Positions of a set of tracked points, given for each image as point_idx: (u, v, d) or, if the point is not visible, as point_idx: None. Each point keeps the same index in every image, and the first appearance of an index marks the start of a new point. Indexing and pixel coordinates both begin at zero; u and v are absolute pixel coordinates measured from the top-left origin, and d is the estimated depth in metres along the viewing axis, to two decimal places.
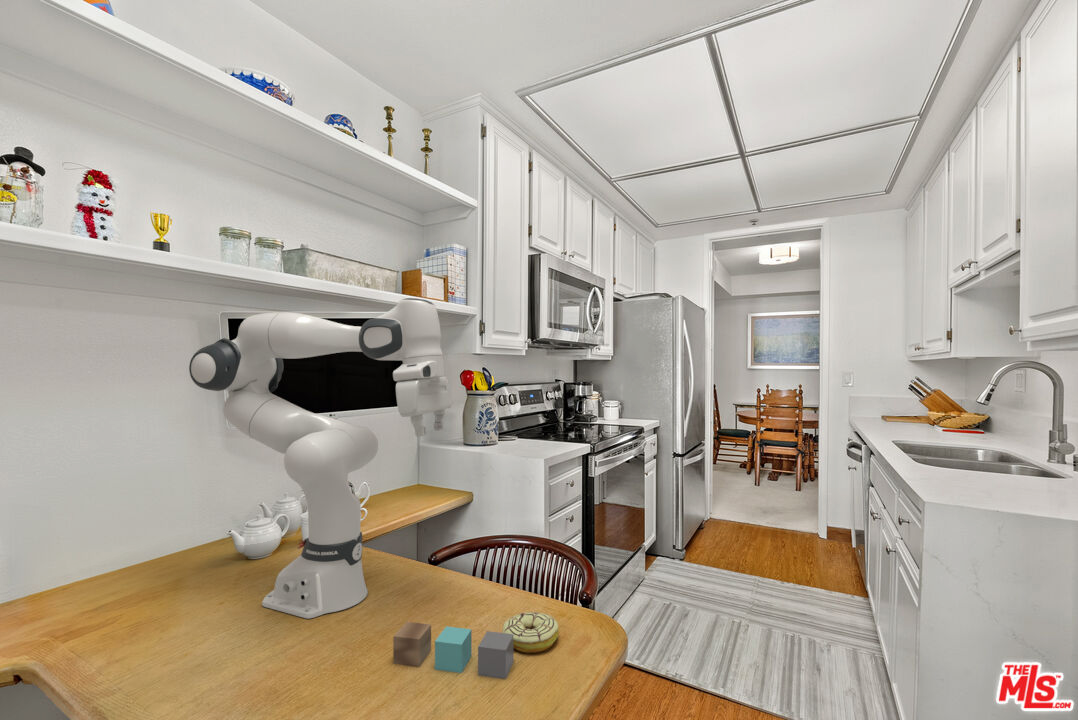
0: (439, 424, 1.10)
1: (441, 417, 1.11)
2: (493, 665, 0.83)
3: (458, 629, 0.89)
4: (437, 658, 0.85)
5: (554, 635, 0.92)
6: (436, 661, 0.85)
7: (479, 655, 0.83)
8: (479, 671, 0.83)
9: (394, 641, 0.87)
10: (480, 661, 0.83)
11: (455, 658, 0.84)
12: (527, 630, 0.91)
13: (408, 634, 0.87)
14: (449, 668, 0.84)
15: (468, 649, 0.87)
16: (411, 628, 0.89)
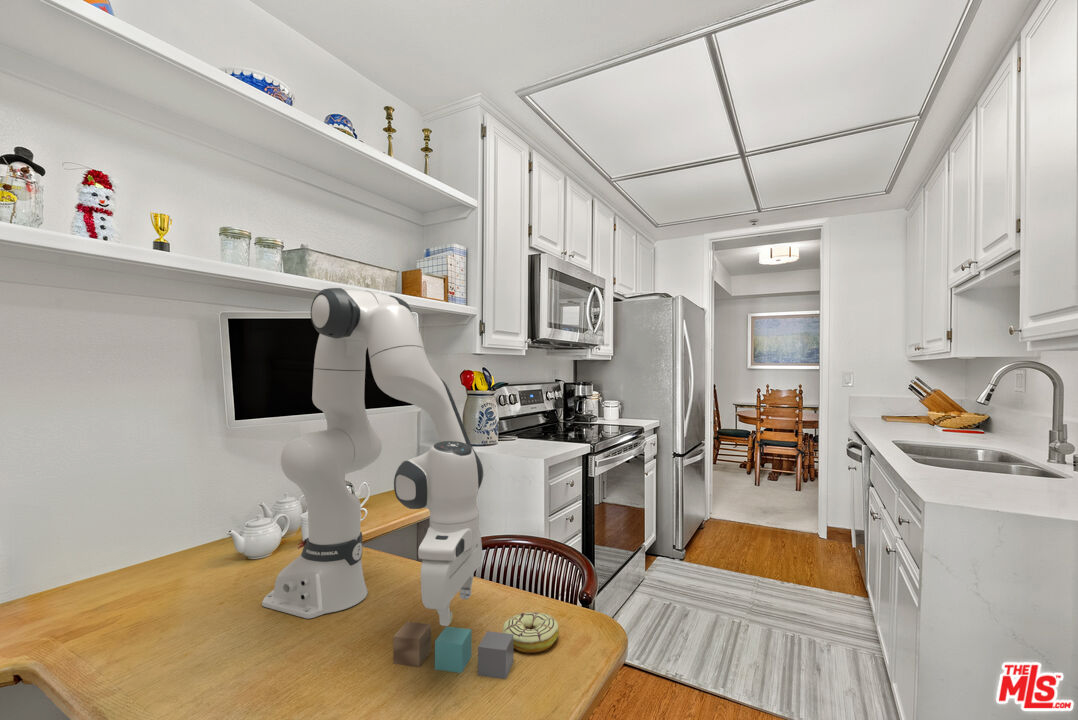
0: (466, 592, 0.91)
1: (469, 581, 0.92)
2: (493, 665, 0.83)
3: (458, 629, 0.89)
4: (437, 658, 0.85)
5: (554, 635, 0.92)
6: (436, 661, 0.85)
7: (479, 655, 0.83)
8: (479, 671, 0.83)
9: (394, 641, 0.87)
10: (480, 661, 0.83)
11: (455, 658, 0.84)
12: (527, 630, 0.91)
13: (409, 634, 0.87)
14: (449, 668, 0.84)
15: (468, 649, 0.87)
16: (411, 628, 0.89)
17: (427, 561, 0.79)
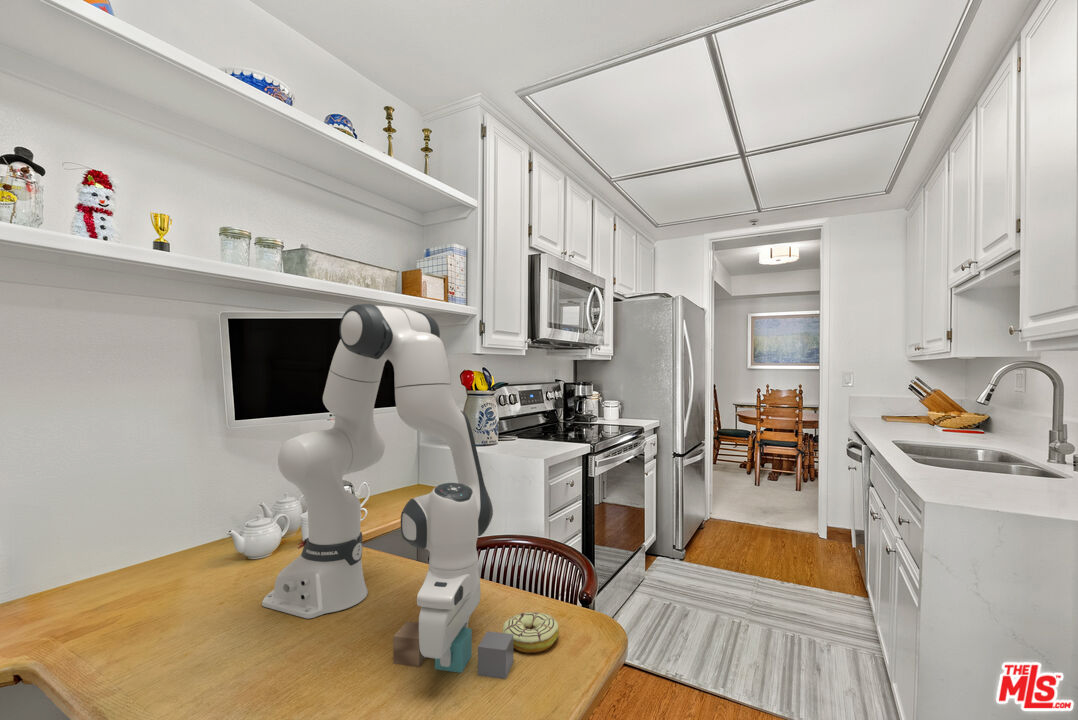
0: None
1: (464, 626, 0.91)
2: (493, 665, 0.83)
3: None
4: None
5: (554, 635, 0.92)
6: (436, 660, 0.85)
7: (479, 655, 0.83)
8: (479, 671, 0.83)
9: (394, 641, 0.87)
10: (480, 661, 0.83)
11: (455, 657, 0.84)
12: (527, 630, 0.91)
13: (409, 634, 0.87)
14: (449, 668, 0.84)
15: (468, 648, 0.87)
16: (411, 628, 0.89)
17: (425, 609, 0.79)
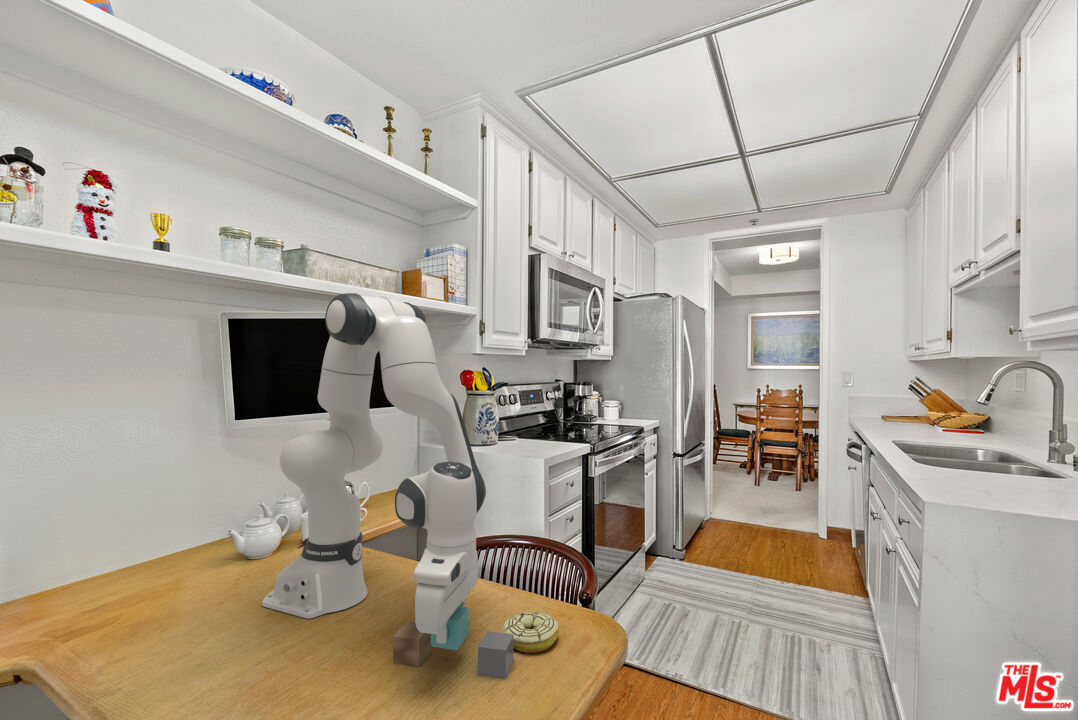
0: None
1: (461, 605, 0.91)
2: (493, 665, 0.83)
3: None
4: (433, 635, 0.85)
5: (554, 635, 0.92)
6: (432, 638, 0.85)
7: (479, 655, 0.83)
8: (479, 671, 0.83)
9: (394, 641, 0.87)
10: (480, 661, 0.83)
11: (451, 634, 0.84)
12: (527, 630, 0.91)
13: (408, 634, 0.87)
14: (446, 645, 0.84)
15: (464, 626, 0.87)
16: (411, 628, 0.89)
17: (422, 585, 0.79)
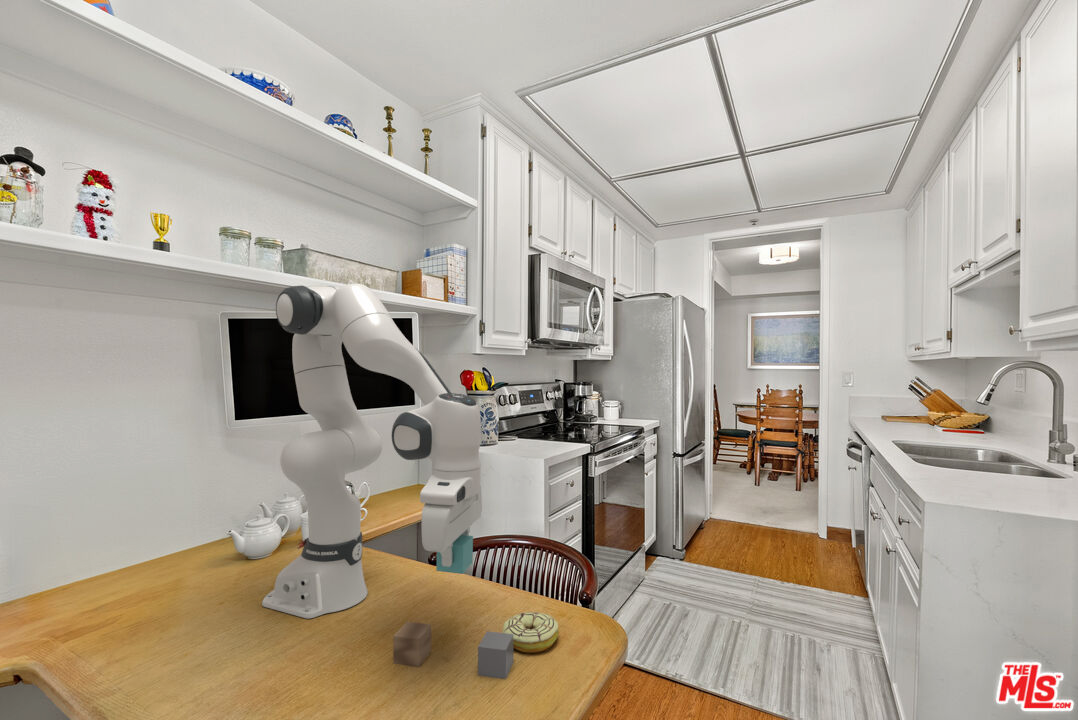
0: None
1: None
2: (493, 665, 0.83)
3: (460, 535, 0.90)
4: (439, 559, 0.86)
5: (554, 635, 0.92)
6: (438, 562, 0.87)
7: (479, 655, 0.83)
8: (479, 671, 0.83)
9: (394, 641, 0.87)
10: (480, 661, 0.83)
11: (456, 559, 0.86)
12: (527, 630, 0.91)
13: (409, 634, 0.87)
14: (451, 569, 0.86)
15: (469, 553, 0.89)
16: (411, 628, 0.89)
17: (428, 505, 0.81)
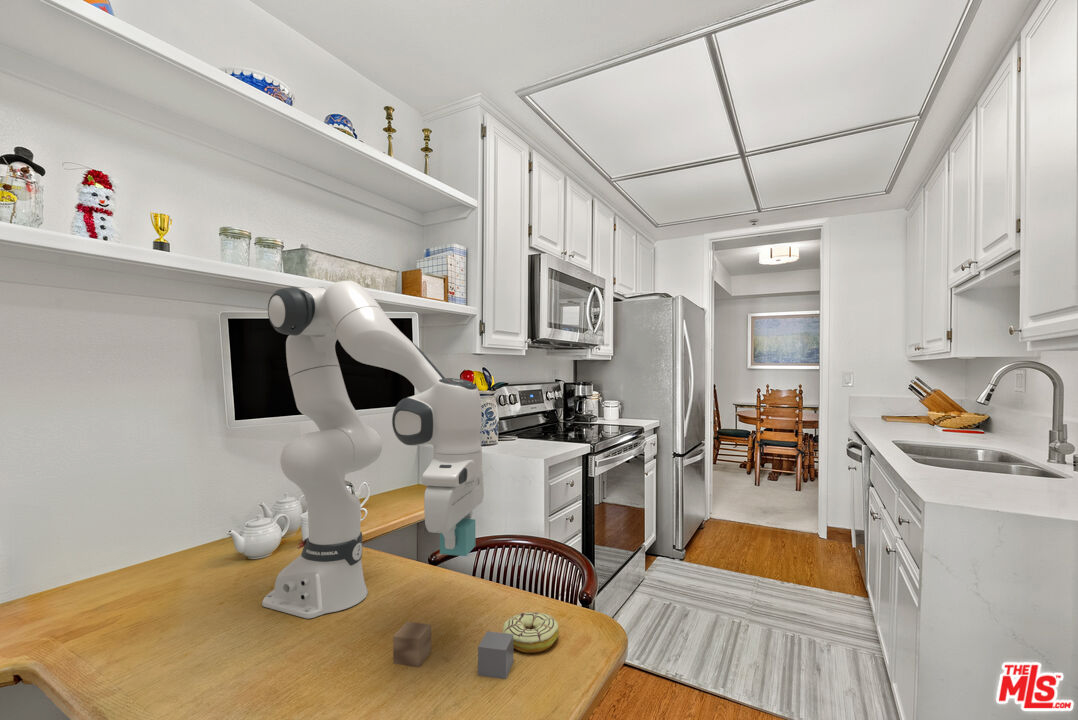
0: None
1: None
2: (494, 665, 0.83)
3: (462, 519, 0.91)
4: (442, 542, 0.87)
5: (554, 635, 0.92)
6: (441, 545, 0.87)
7: (479, 655, 0.83)
8: (479, 671, 0.83)
9: (394, 641, 0.87)
10: (480, 661, 0.83)
11: (459, 541, 0.86)
12: (527, 630, 0.91)
13: (408, 634, 0.87)
14: (454, 552, 0.87)
15: (472, 536, 0.89)
16: (411, 628, 0.89)
17: (431, 487, 0.81)
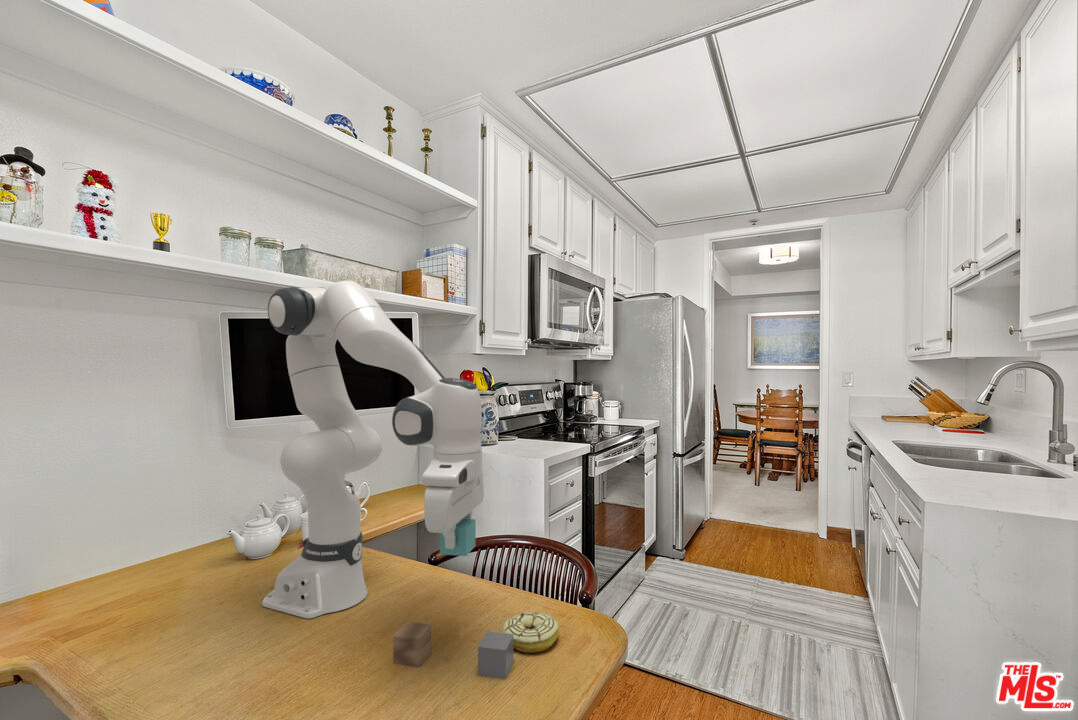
0: None
1: None
2: (494, 665, 0.83)
3: (462, 519, 0.91)
4: (442, 542, 0.87)
5: (554, 635, 0.92)
6: (441, 545, 0.87)
7: (479, 655, 0.83)
8: (479, 671, 0.83)
9: (394, 641, 0.87)
10: (480, 661, 0.83)
11: (459, 541, 0.86)
12: (527, 630, 0.91)
13: (408, 634, 0.87)
14: (454, 552, 0.87)
15: (472, 536, 0.89)
16: (411, 628, 0.89)
17: (431, 487, 0.81)
